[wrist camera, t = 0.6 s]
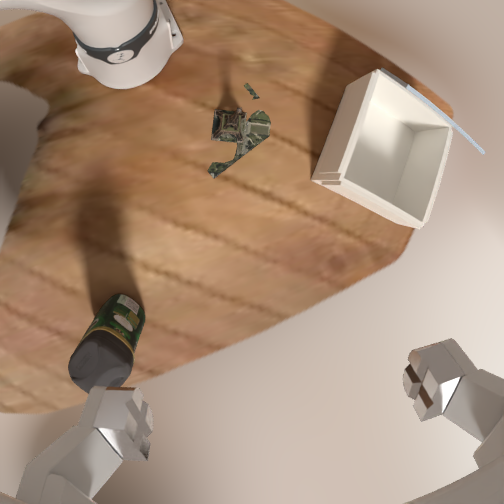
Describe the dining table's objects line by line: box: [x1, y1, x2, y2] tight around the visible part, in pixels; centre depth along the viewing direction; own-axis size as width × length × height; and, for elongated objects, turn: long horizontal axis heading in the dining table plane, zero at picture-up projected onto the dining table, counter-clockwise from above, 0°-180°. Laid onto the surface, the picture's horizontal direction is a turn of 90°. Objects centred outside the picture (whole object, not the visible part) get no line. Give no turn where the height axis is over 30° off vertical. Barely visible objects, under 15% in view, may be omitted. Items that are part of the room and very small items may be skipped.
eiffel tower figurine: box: [208, 83, 271, 178], centre depth 43 cm, size 15×10×13 cm
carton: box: [311, 69, 453, 229], centre depth 49 cm, size 21×19×11 cm
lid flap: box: [380, 68, 485, 155], centre depth 38 cm, size 11×17×1 cm
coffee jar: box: [68, 294, 145, 394], centre depth 43 cm, size 10×8×19 cm
